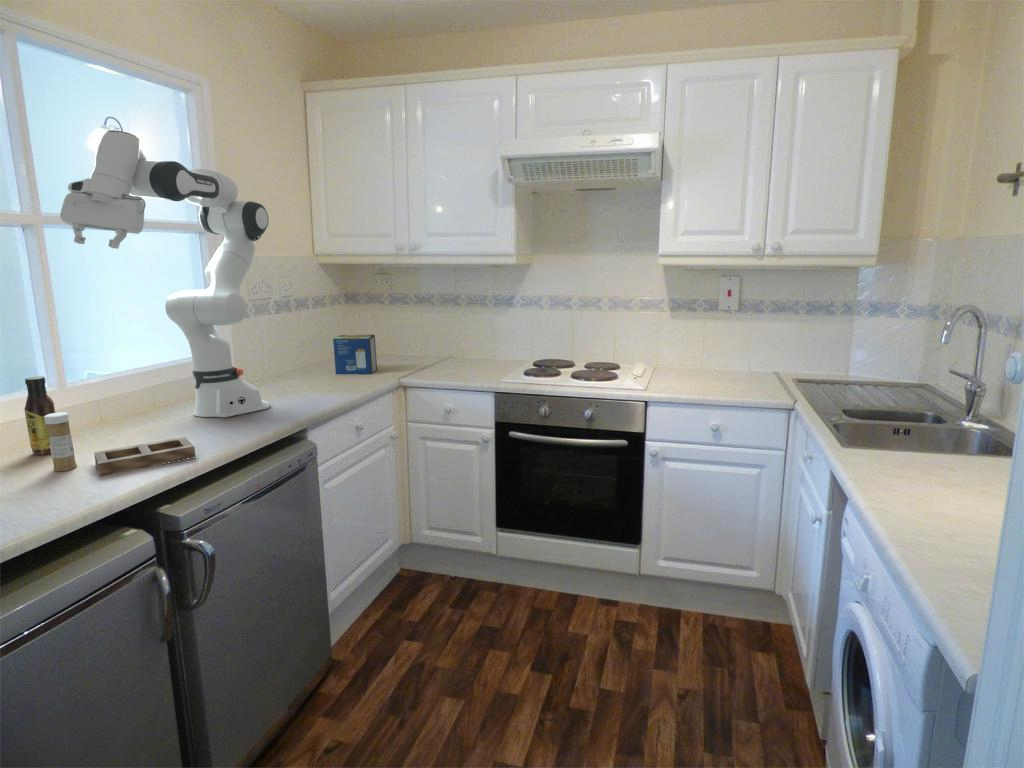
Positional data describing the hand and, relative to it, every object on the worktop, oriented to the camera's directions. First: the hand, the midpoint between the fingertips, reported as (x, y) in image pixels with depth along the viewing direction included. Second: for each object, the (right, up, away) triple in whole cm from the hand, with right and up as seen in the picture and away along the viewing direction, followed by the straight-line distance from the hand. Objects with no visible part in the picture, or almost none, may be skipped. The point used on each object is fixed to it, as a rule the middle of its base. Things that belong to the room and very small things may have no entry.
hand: (96, 245), depth 154 cm
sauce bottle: (-17, -52, +7) cm, 56 cm away
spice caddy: (+13, -53, -2) cm, 55 cm away
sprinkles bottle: (-3, -55, -6) cm, 55 cm away
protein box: (+37, -30, +111) cm, 121 cm away
